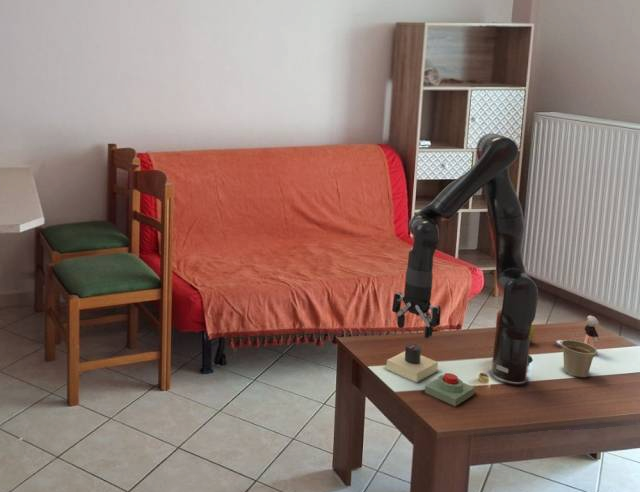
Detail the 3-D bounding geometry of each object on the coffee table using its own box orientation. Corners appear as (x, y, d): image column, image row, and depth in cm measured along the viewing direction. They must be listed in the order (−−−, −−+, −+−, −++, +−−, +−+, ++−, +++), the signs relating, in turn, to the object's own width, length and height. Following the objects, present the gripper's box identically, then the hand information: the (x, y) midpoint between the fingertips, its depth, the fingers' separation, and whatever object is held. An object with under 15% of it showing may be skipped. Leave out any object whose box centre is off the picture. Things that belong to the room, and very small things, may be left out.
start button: (447, 377, 201) (447, 371, 200) (459, 382, 198) (460, 376, 198) (441, 381, 198) (441, 375, 198) (453, 386, 196) (453, 380, 195)
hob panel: (407, 358, 219) (407, 349, 219) (437, 371, 212) (438, 361, 211) (386, 369, 212) (386, 359, 212) (416, 382, 204) (417, 372, 204)
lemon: (535, 347, 230) (537, 324, 229) (517, 345, 231) (519, 322, 230) (529, 340, 235) (531, 317, 234) (512, 338, 236) (514, 316, 235)
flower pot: (596, 373, 213) (599, 346, 212) (591, 384, 206) (594, 356, 205) (561, 362, 219) (564, 337, 218) (555, 372, 212) (557, 346, 211)
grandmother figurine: (574, 347, 230) (578, 311, 229) (585, 347, 230) (589, 311, 229) (591, 358, 223) (595, 321, 221) (602, 358, 223) (607, 321, 221)
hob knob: (409, 356, 215) (410, 341, 214) (422, 361, 211) (424, 346, 211) (401, 359, 212) (403, 345, 211) (415, 365, 208) (416, 350, 208)
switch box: (443, 381, 205) (445, 368, 205) (474, 394, 198) (475, 381, 198) (424, 392, 199) (425, 379, 198) (455, 406, 192) (456, 393, 191)
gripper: (447, 286, 205) (442, 338, 207) (403, 272, 216) (399, 321, 218) (434, 291, 201) (429, 344, 203) (390, 276, 212) (386, 326, 214)
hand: (414, 332), depth 210 cm, fingers open, 8 cm apart
